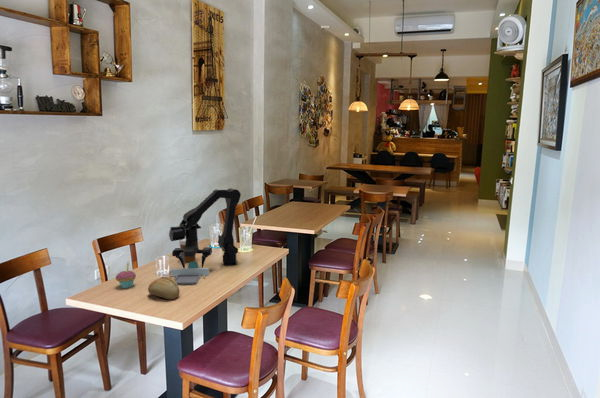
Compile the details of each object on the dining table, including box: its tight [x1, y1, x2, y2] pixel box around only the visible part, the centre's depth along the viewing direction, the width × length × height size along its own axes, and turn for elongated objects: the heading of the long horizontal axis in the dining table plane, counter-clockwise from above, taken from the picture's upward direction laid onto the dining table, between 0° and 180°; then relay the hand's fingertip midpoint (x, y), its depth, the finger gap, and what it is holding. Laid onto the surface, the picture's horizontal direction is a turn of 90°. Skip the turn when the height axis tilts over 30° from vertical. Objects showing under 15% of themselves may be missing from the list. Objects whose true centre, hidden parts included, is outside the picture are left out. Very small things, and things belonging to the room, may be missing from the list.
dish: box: [173, 274, 202, 286], centre depth 210 cm, size 11×11×1 cm
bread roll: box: [147, 276, 181, 300], centre depth 191 cm, size 10×15×8 cm, turn 65°
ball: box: [187, 260, 199, 268], centre depth 224 cm, size 5×5×5 cm
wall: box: [170, 267, 210, 277], centre depth 217 cm, size 18×1×4 cm, turn 91°
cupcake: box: [115, 262, 137, 289], centre depth 203 cm, size 9×8×12 cm
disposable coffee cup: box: [178, 237, 197, 264], centre depth 240 cm, size 10×10×12 cm
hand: (193, 268), depth 224 cm, fingers open, 9 cm apart
